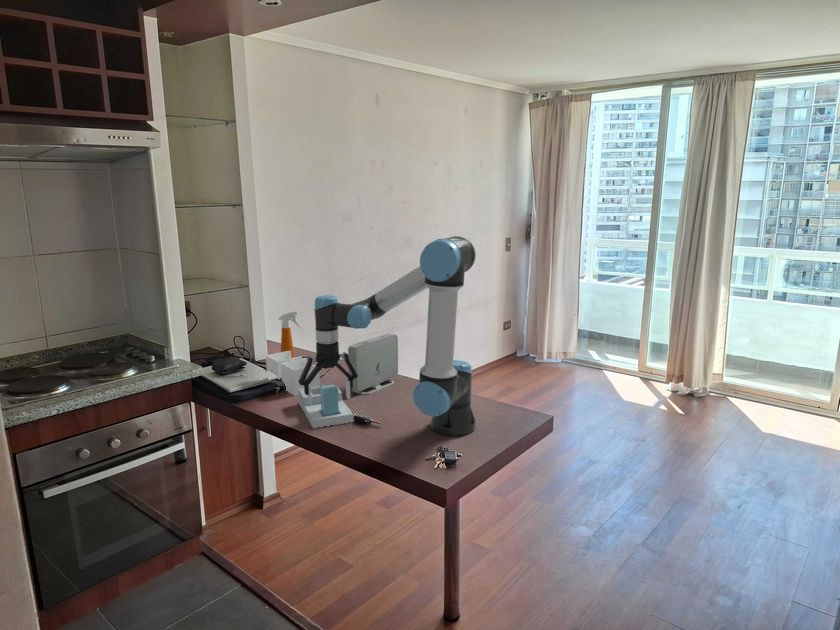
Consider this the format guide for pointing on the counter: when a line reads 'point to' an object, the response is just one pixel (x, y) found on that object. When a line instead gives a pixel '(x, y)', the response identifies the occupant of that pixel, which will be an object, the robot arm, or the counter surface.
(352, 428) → the counter surface
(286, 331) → the spray bottle
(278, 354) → the storage container
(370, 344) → the network device
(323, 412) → the plug
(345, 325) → the robot arm
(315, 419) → the panel
